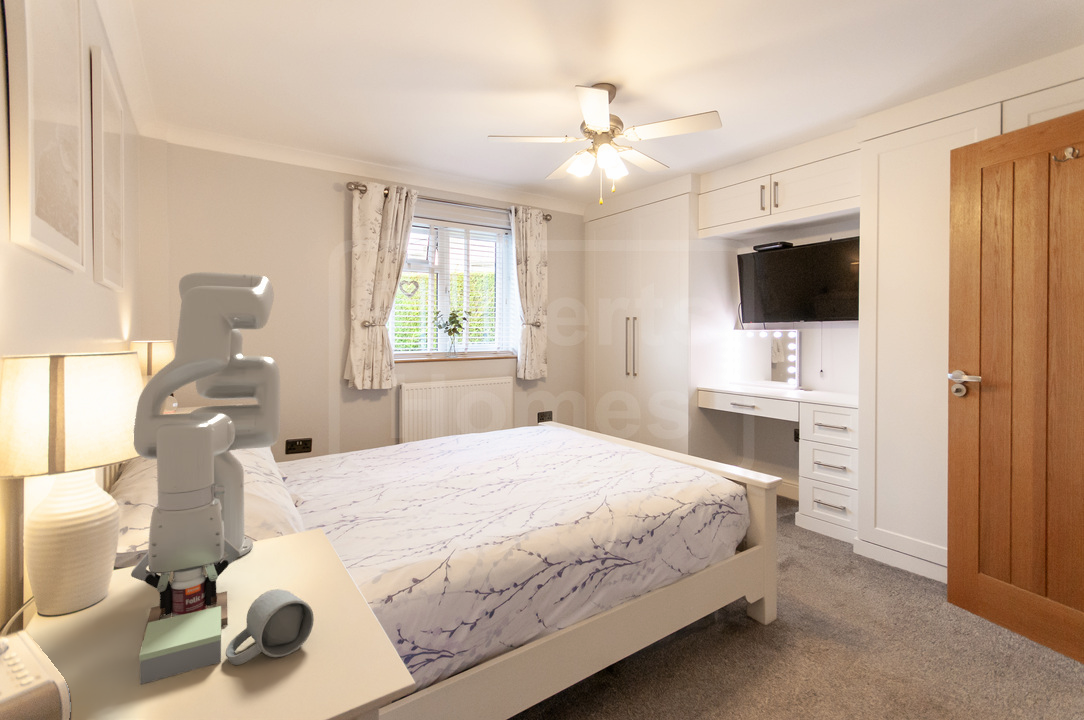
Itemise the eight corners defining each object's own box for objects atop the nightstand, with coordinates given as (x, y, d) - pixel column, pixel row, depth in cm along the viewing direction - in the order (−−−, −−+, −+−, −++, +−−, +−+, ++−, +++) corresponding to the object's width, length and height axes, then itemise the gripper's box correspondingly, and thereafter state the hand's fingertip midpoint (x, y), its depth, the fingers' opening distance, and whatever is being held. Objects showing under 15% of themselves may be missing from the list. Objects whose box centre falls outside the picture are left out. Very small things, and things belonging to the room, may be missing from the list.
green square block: (148, 649, 75) (148, 622, 74) (221, 630, 79) (221, 605, 79) (139, 684, 67) (139, 655, 67) (221, 662, 72) (220, 634, 72)
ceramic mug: (293, 622, 82) (292, 576, 82) (315, 643, 76) (313, 593, 76) (218, 653, 74) (216, 602, 74) (236, 678, 69) (234, 623, 68)
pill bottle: (188, 626, 80) (187, 575, 80) (164, 622, 81) (162, 572, 81) (213, 610, 85) (212, 562, 84) (190, 607, 86) (189, 559, 85)
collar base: (151, 613, 84) (151, 606, 84) (227, 596, 90) (227, 590, 90) (142, 647, 75) (142, 639, 75) (227, 625, 81) (227, 618, 81)
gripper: (246, 483, 90) (248, 583, 91) (123, 499, 81) (126, 610, 81) (248, 495, 83) (249, 602, 84) (114, 513, 74) (118, 633, 75)
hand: (189, 605), depth 83 cm, fingers closed on pill bottle, 4 cm apart
